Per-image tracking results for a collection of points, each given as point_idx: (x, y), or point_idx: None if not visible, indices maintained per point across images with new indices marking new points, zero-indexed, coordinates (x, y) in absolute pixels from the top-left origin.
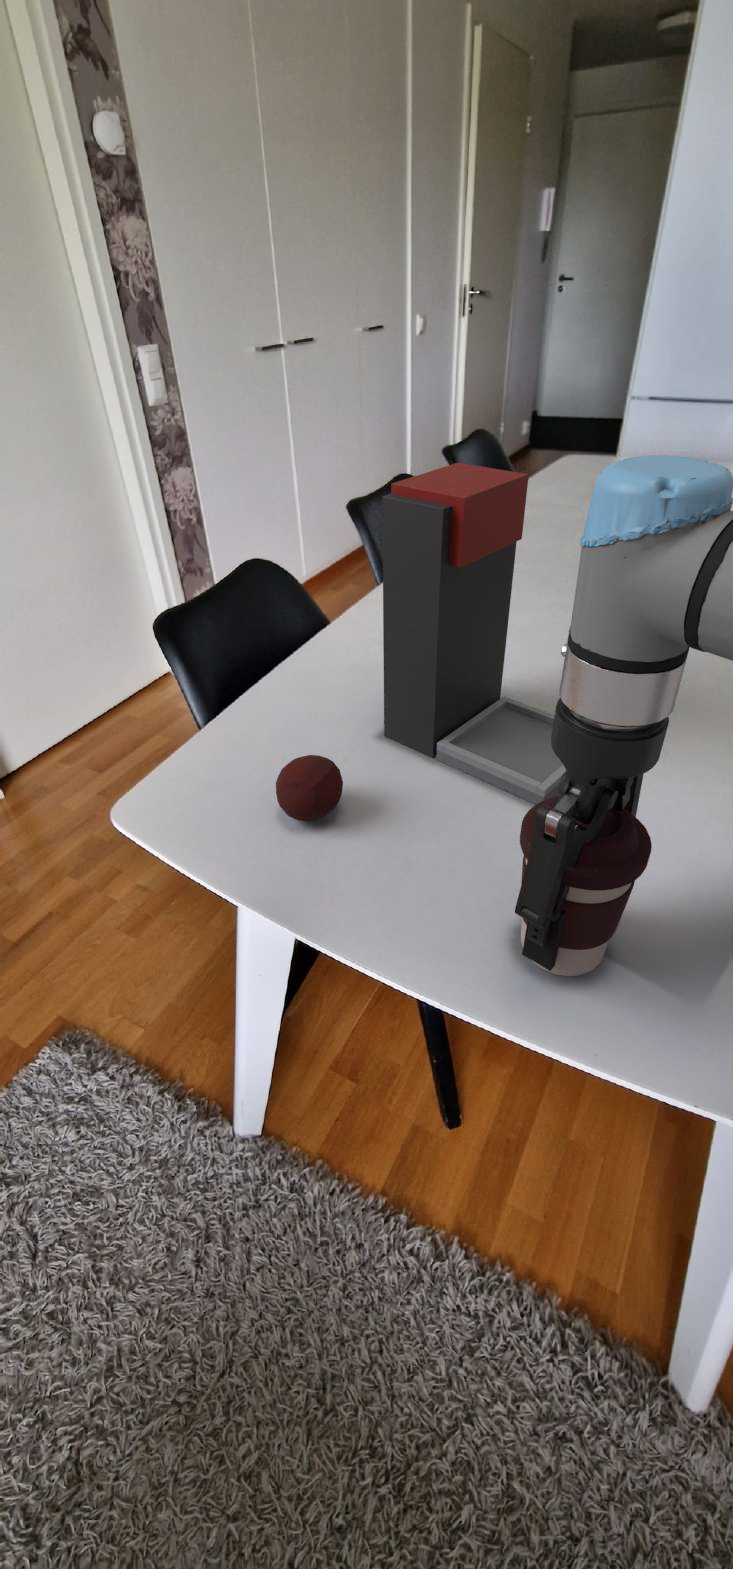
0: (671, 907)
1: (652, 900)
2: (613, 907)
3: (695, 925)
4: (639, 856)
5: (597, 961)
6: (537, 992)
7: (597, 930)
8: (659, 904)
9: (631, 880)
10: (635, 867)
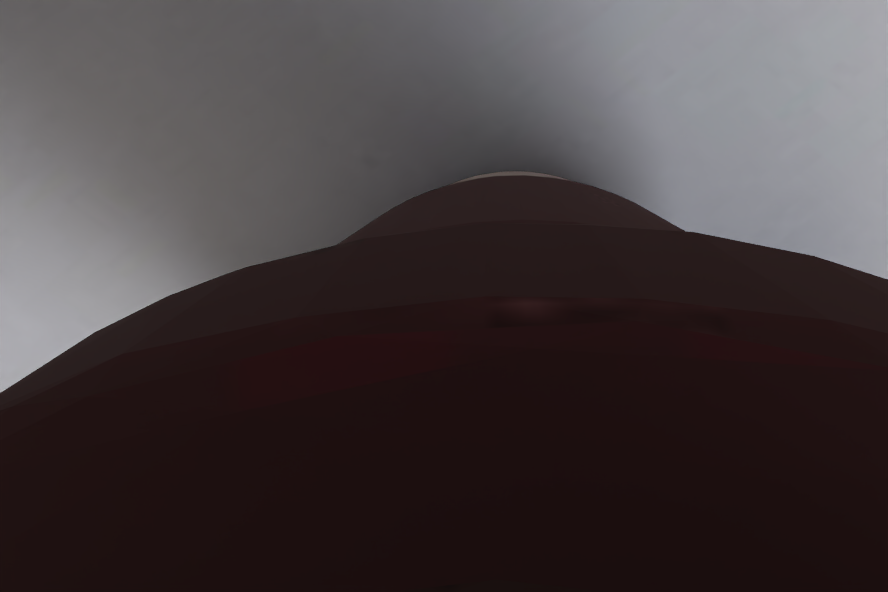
0: (20, 184)
1: (57, 250)
2: (626, 224)
3: (5, 67)
4: (281, 503)
5: (511, 173)
6: (755, 235)
7: (650, 214)
8: (49, 221)
9: (668, 239)
10: (639, 360)
